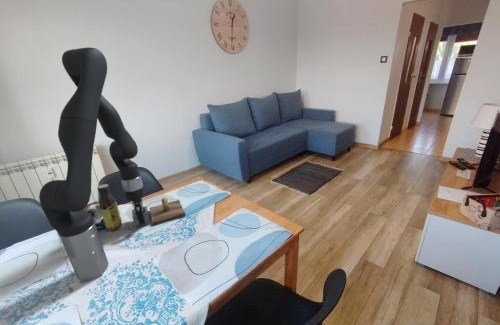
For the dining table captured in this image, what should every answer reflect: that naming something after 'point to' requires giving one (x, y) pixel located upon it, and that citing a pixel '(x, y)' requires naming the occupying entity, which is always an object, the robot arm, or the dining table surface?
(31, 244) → the dining table surface
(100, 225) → the watch
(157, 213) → the post board
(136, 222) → the grey hollow cube
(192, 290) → the dining table surface
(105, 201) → the sauce bottle
